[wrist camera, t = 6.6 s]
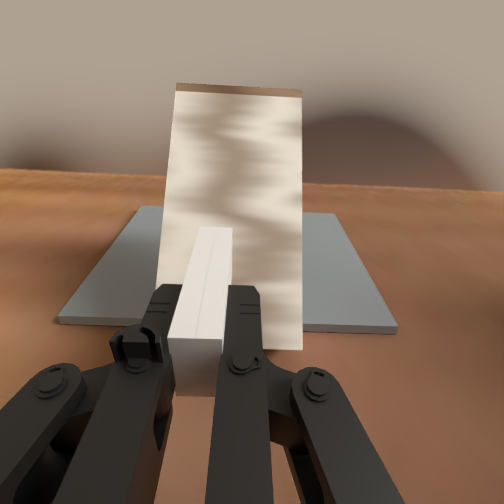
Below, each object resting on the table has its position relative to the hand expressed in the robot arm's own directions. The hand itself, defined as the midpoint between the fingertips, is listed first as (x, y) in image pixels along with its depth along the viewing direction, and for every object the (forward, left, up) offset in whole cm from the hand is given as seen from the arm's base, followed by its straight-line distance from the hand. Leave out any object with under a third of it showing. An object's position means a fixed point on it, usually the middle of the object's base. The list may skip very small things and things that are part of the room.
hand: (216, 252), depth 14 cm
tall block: (-1, 0, -7) cm, 7 cm away
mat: (-1, -12, -8) cm, 15 cm away
